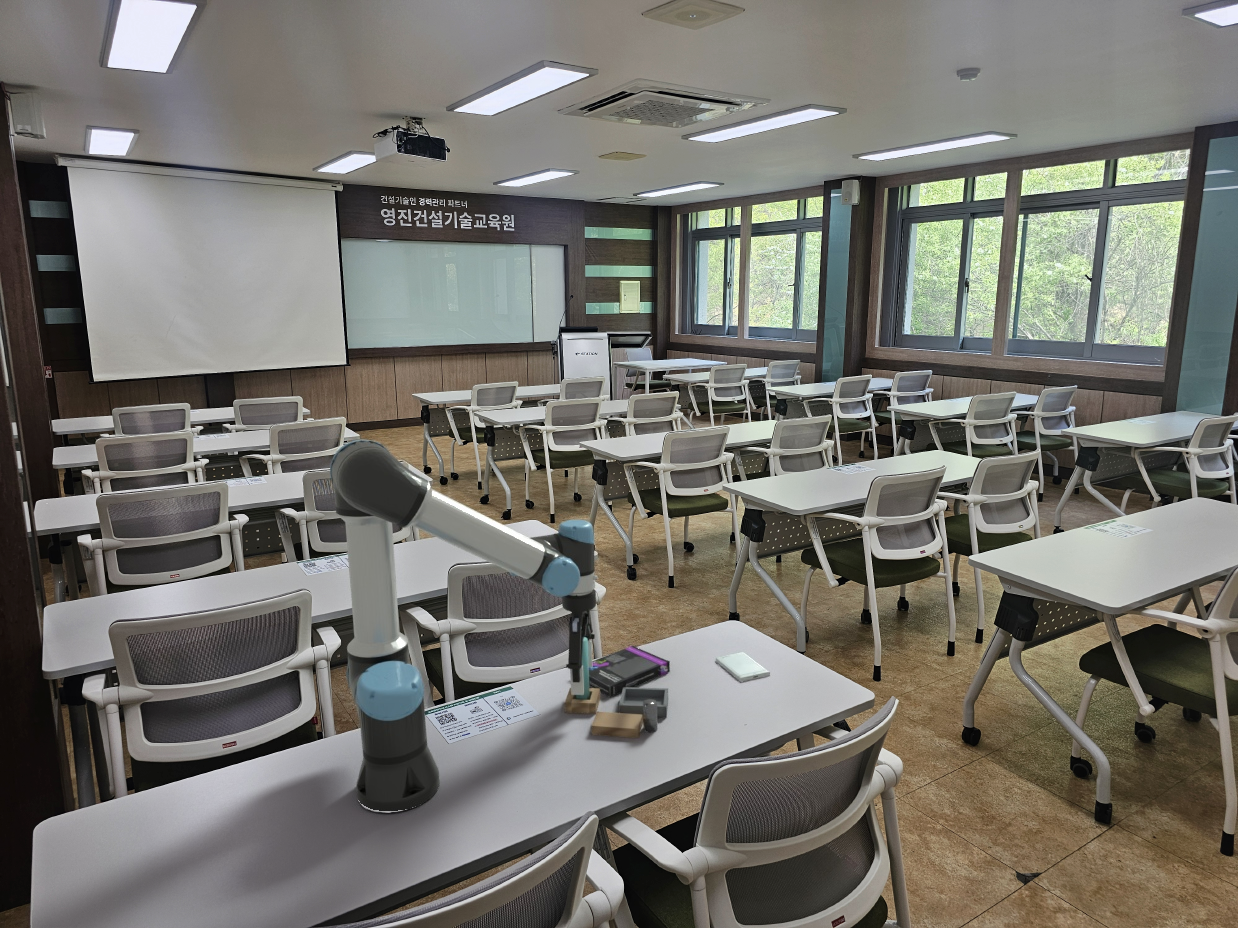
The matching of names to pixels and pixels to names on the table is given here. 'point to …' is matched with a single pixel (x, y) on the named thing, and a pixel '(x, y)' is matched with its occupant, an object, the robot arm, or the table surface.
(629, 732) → the tan block
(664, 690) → the tray
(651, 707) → the bench dog
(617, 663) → the box
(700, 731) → the table surface
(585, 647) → the dowel
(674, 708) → the table surface
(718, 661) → the hard drive
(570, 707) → the socket block
